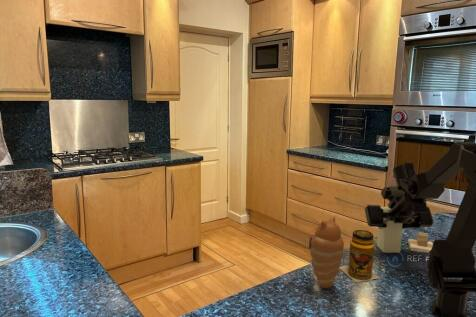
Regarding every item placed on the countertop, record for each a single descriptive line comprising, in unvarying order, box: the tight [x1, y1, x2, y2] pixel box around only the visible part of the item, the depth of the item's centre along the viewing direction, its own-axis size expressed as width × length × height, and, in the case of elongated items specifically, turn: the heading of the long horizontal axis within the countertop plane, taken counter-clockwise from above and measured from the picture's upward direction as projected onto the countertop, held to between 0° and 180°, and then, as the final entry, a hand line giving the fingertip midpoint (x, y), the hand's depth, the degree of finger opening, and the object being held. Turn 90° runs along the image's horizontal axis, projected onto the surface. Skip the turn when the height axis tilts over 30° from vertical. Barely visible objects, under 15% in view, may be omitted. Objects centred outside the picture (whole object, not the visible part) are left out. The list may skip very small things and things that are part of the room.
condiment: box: [339, 229, 380, 283], centre depth 96 cm, size 7×8×12 cm
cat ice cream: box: [310, 216, 345, 289], centre depth 88 cm, size 9×8×18 cm
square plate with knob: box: [407, 232, 433, 254], centre depth 113 cm, size 7×7×4 cm
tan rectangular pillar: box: [376, 206, 403, 253], centre depth 111 cm, size 5×5×13 cm
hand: (388, 227), depth 112 cm, fingers closed on tan rectangular pillar, 6 cm apart
